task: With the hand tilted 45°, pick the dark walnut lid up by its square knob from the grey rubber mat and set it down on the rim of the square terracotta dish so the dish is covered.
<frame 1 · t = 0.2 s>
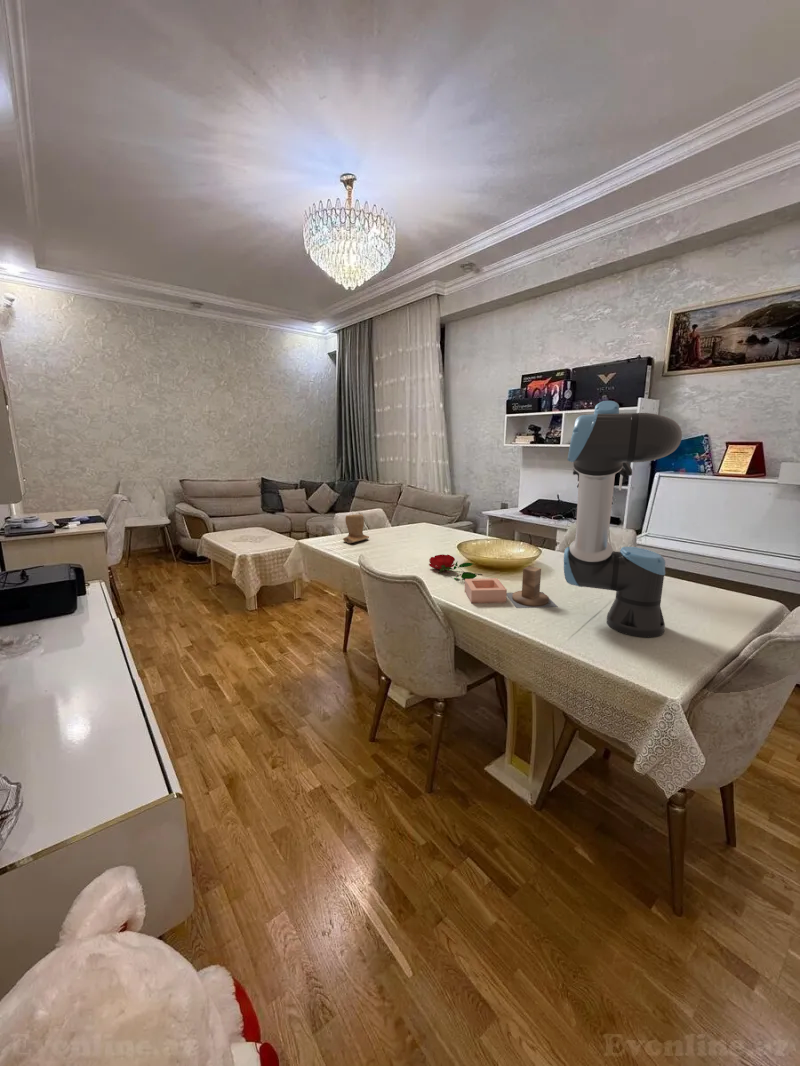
hand: (600, 487, 168), 36 cm above the table, tool tilted 35°, fingers open, 13 cm apart
dish: (484, 597, 152), on the table
flower: (456, 577, 175), on the table
wooden stamp: (354, 541, 236), on the table
mat: (530, 600, 149), on the table
lid: (530, 599, 149), resting on mat
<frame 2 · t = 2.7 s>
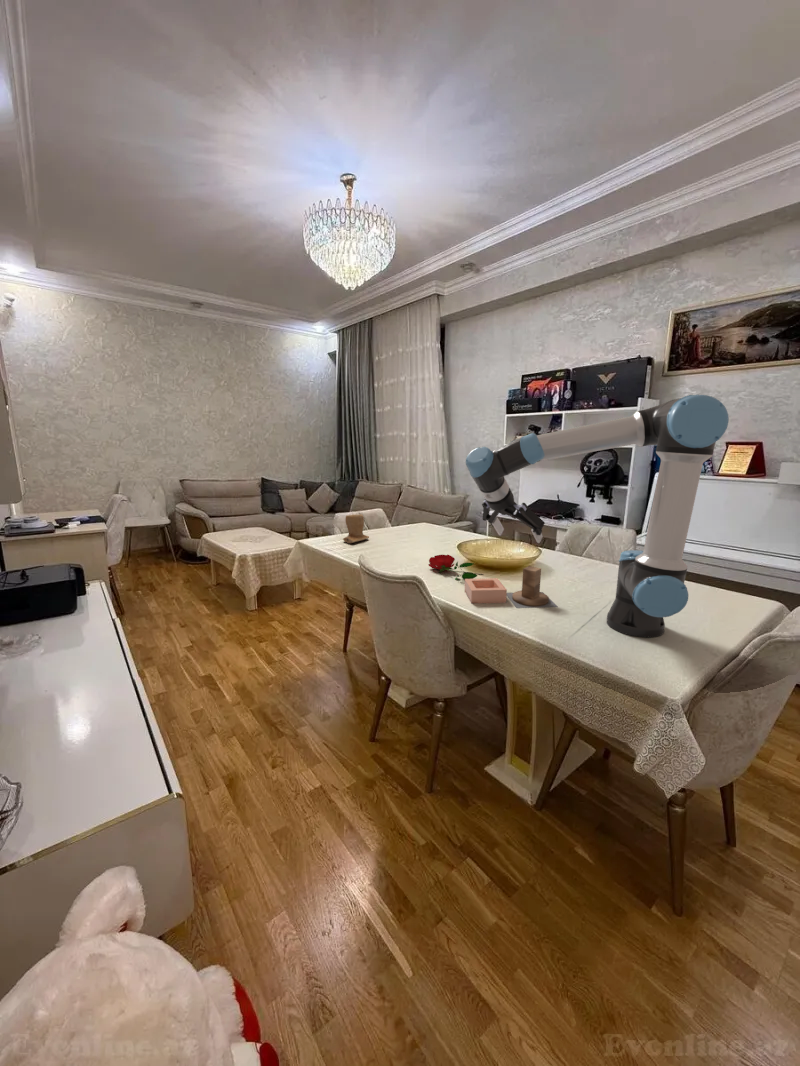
hand: (520, 535, 137), 25 cm above the table, tool tilted 45°, fingers open, 13 cm apart
nothing on the table moved.
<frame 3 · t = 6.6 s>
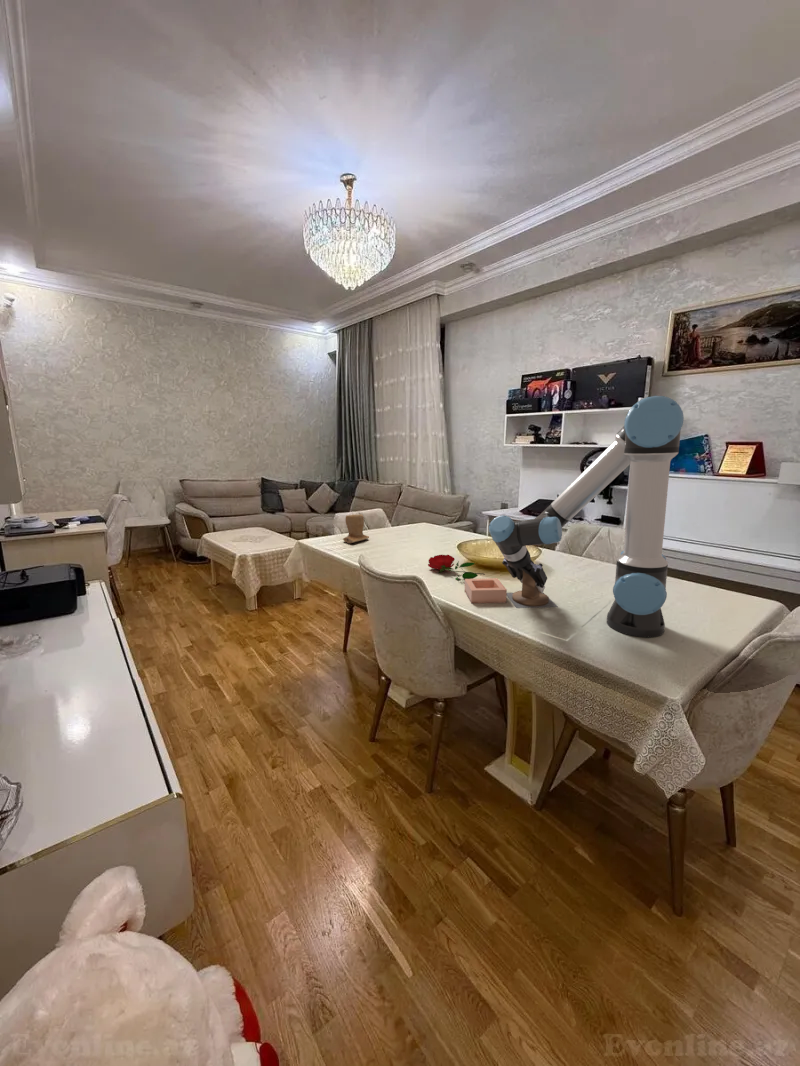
hand: (535, 588, 151), 3 cm above the table, tool tilted 45°, fingers closed on lid, 4 cm apart
lid: (530, 599, 149), resting on mat, touching gripper
everything else where it was.
when the fingers open (9 cm above the table, at t = 11.2 s): lid drops 1 cm, resting on dish.
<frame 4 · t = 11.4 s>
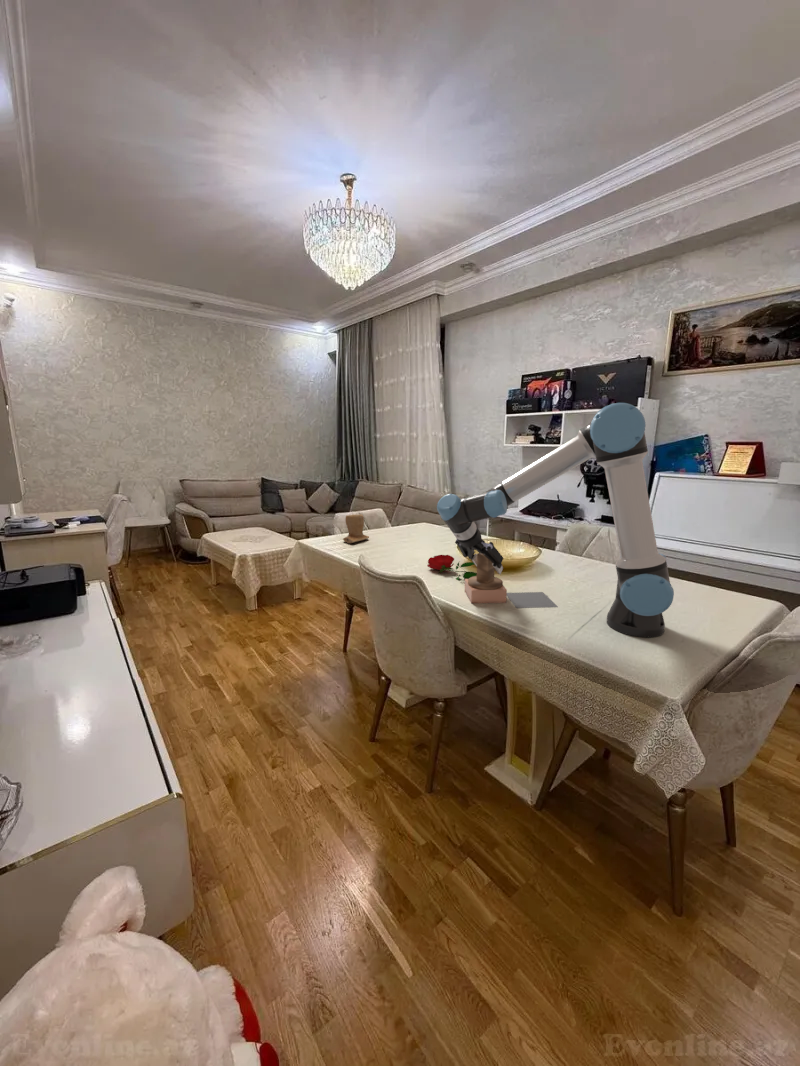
hand: (490, 568, 152), 10 cm above the table, tool tilted 45°, fingers open, 7 cm apart
lid: (485, 584, 151), point 5 cm above the table, touching dish
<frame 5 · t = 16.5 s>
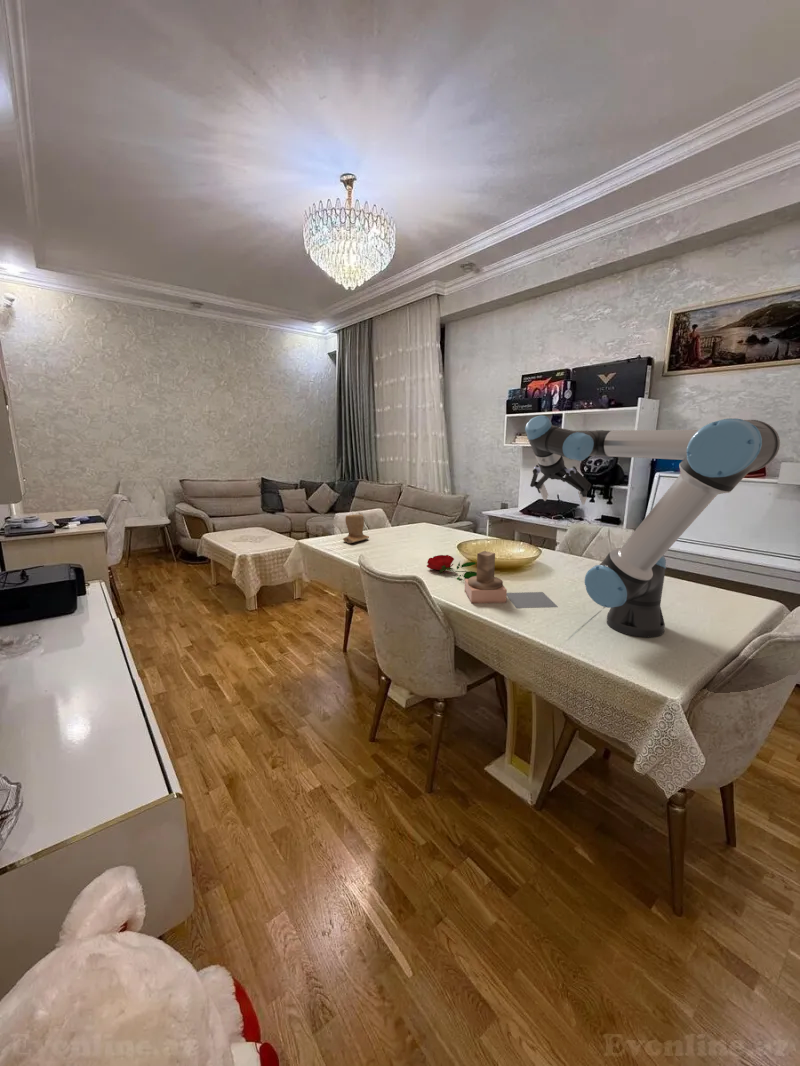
hand: (564, 499, 151), 34 cm above the table, tool tilted 45°, fingers open, 13 cm apart
at the end: lid 0.0 cm off-centre on the dish, point 5.0 cm above the dish's base; lid tilted 0°; the gripper is holding nothing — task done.
